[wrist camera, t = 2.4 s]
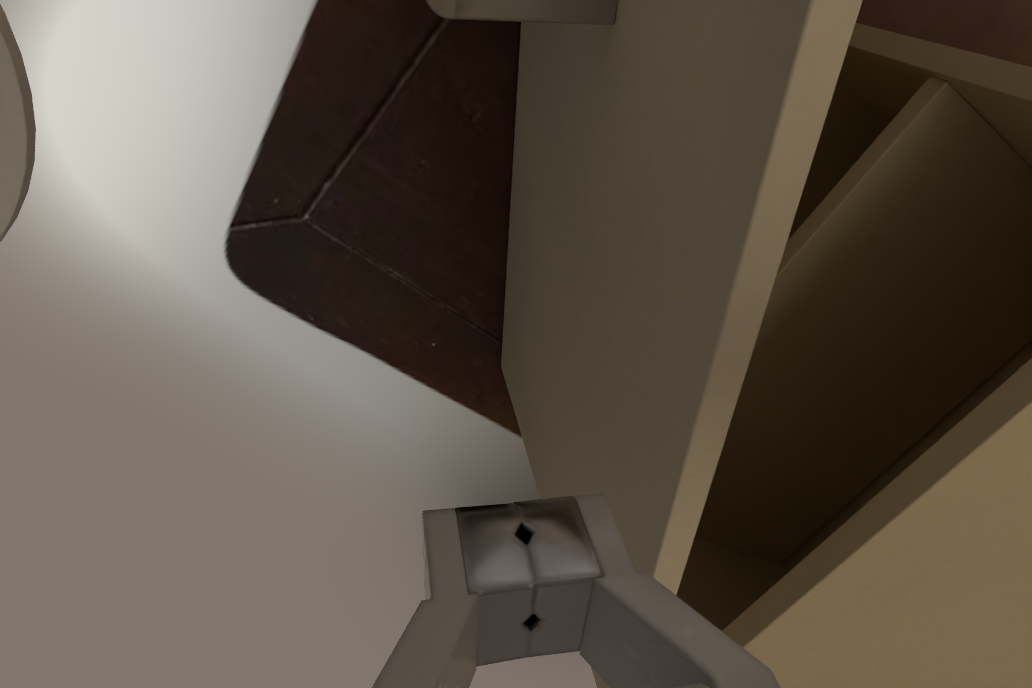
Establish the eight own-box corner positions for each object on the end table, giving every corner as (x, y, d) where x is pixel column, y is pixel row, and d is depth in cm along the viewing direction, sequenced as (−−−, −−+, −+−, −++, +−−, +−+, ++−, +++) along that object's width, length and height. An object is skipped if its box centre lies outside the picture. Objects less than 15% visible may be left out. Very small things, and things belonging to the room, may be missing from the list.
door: (412, 372, 43) (455, 760, 24) (397, -115, 28) (473, -138, 9) (515, 365, 44) (635, 728, 25) (549, -103, 30) (896, -103, 10)
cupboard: (516, 368, 44) (639, 737, 25) (785, 4, 35) (1336, 144, 15) (701, 447, 52) (903, 773, 33) (962, 170, 42) (1473, 402, 23)
